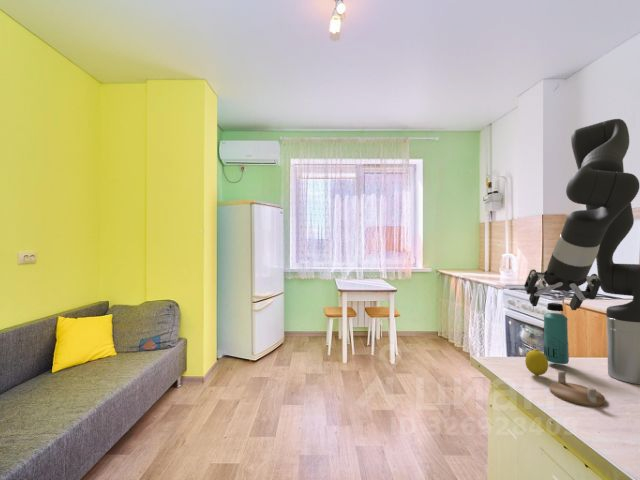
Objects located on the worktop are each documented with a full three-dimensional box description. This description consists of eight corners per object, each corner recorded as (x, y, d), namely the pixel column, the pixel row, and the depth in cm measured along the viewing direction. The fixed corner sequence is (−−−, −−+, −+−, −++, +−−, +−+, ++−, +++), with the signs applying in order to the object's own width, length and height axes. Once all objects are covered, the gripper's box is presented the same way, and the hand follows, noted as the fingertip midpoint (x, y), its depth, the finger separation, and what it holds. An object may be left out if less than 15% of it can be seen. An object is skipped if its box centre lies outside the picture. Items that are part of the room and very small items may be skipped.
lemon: (552, 381, 89) (551, 352, 89) (530, 379, 90) (530, 351, 90) (542, 373, 94) (542, 346, 94) (522, 371, 95) (521, 345, 95)
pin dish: (551, 382, 88) (550, 368, 88) (603, 393, 81) (603, 378, 81) (548, 397, 79) (548, 381, 79) (606, 411, 72) (606, 394, 72)
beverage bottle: (570, 365, 100) (569, 303, 101) (568, 371, 96) (566, 306, 96) (545, 360, 105) (544, 300, 105) (542, 365, 100) (541, 303, 101)
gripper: (603, 247, 72) (579, 298, 80) (532, 243, 76) (517, 292, 84) (619, 268, 66) (592, 320, 74) (541, 262, 70) (524, 313, 79)
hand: (552, 305), depth 79 cm, fingers open, 8 cm apart
